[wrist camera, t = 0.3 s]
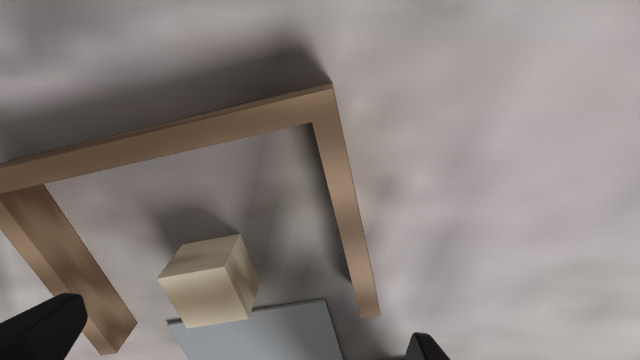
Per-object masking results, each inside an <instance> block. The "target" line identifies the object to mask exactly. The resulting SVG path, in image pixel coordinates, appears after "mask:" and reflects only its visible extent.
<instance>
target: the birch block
mask: <svg viewBox="0 0 640 360" xmlns="http://www.w3.org/2000/svg"><path fill="white" fill-rule="evenodd" d="M157 279H158V281H159V283H160V284H161V286H162V288H163V289H164V291H165V293H166V294H167V296H168V298H169V299H170V301H171V303H172V304H173V306H174V308H175V309H176V311H177V313H178V314H179V316H180V318H181V320H182V321H183V323H184V325H185V326H186V328H193V327H200V326H206V325H213V324H219V323H226V322H233V321H239V320H246V319H249V317H250V314H251V310H252V307H253V304H254V300H255V297H256V293H257V290H258V287H259V283H260V280H259V277H258V275H257V272H256V270H255V268H254V265H253V263H252V260H251V258H250V256H249V253H248V251H247V248H246V246H245V244H244V241H243V239H242V236H241V234H234V235H229V236H224V237H218V238H213V239H208V240H203V241H197V242H192V243H187V244H182V246H181V247H180V248H179V250H178V251H177V252H176V254H175V255H174V256H173V258H172V259H171V260H170V262H169V263H168V264H167V266H166V267H165V269H164V270H163V271H162V273H161V274H160V275H159V277H158V278H157Z"/></svg>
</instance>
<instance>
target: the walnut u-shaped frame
mask: <svg viewBox="0 0 640 360" xmlns="http://www.w3.org/2000/svg"><path fill="white" fill-rule="evenodd" d="M310 122H312V125H313V129H314V133H315V137H316V141H317V145H318V149H319V153H320V156H321V160H322V164H323V168H324V172H325V176H326V180H327V184H328V188H329V192H330V196H331V200H332V204H333V208H334V212H335V216H336V220H337V224H338V228H339V232H340V236H341V240H342V244H343V248H344V252H345V256H346V260H347V264H348V268H349V272H350V276H351V280H352V284H353V288H354V292H355V296H356V300H357V304H358V308H359V312H360V316H361V318H368V317H376V316H381V315H380V309H379V304H378V298H377V293H376V288H375V283H374V278H373V273H372V269H371V264H370V259H369V254H368V250H367V245H366V240H365V235H364V231H363V226H362V221H361V216H360V212H359V207H358V202H357V197H356V193H355V188H354V183H353V178H352V174H351V169H350V164H349V159H348V155H347V150H346V145H345V140H344V136H343V131H342V126H341V122H340V117H339V112H338V107H337V103H336V98H335V93H334V88H333V84H332V82H330V83H326V84H322V85H318V86H314V87H310V88H306V89H302V90H298V91H294V92H289V93H285V94H281V95H277V96H273V97H269V98H265V99H261V100H257V101H253V102H249V103H244V104H240V105H236V106H232V107H228V108H224V109H220V110H216V111H212V112H208V113H203V114H199V115H195V116H191V117H187V118H183V119H179V120H175V121H171V122H167V123H163V124H158V125H154V126H150V127H146V128H142V129H138V130H134V131H130V132H126V133H122V134H117V135H113V136H109V137H105V138H101V139H97V140H93V141H89V142H85V143H81V144H76V145H72V146H68V147H64V148H60V149H56V150H52V151H48V152H44V153H40V154H36V155H31V156H27V157H23V158H19V159H15V160H11V161H7V162H4V163H1V164H0V230H1V231H2V232H3V233H4V235H5V236H6V237H7V238H8V240H9V241H10V242H11V243H12V245H13V246H14V247H15V248H16V250H17V251H18V252H19V253H20V255H21V256H22V257H23V258H24V260H25V261H26V262H27V263H28V265H29V266H30V267H31V268H32V270H33V271H34V272H35V273H36V275H37V276H38V277H39V278H40V280H41V281H42V282H43V283H44V285H45V286H46V287H47V288H48V290H49V291H50V292H51V293H52V295H53V296H54V297H55V296H57V295H59V294H62V293H66V292H67V293H77V294H81V295H82V296H83V299H84V302H85V306H86V310H87V313H88V320H87V323H86V325H85V327H84V328H83V330H82V332H83V333H84V335H85V336H86V337H87V338H88V340H89V341H90V342H91V343H92V345H93V346H94V347H95V348H96V350H97V351H98V352H99V353H100V355H107V354H114V353H117V352H118V350H119V349H120V348H121V346H122V345H123V343H124V342H125V340H126V339H127V337H128V336H129V335H130V333H131V332H132V330H133V329H134V327H135V326H136V324H137V322H136V320H135V319H134V317H133V316H132V314H131V313H130V311H129V310H128V308H127V307H126V305H125V304H124V302H123V301H122V300H121V298H120V297H119V295H118V294H117V292H116V291H115V289H114V288H113V286H112V285H111V283H110V282H109V280H108V279H107V278H106V276H105V275H104V273H103V272H102V270H101V269H100V267H99V266H98V264H97V263H96V261H95V260H94V258H93V257H92V255H91V254H90V253H89V251H88V250H87V248H86V247H85V245H84V244H83V242H82V241H81V239H80V238H79V236H78V235H77V233H76V232H75V230H74V229H73V228H72V226H71V225H70V223H69V222H68V220H67V219H66V217H65V216H64V214H63V213H62V211H61V210H60V208H59V207H58V206H57V204H56V203H55V201H54V200H53V198H52V197H51V195H50V194H49V192H48V191H47V189H46V188H45V186H44V185H43V184H44V183H48V182H53V181H57V180H62V179H66V178H70V177H75V176H79V175H83V174H88V173H92V172H96V171H101V170H105V169H110V168H114V167H118V166H123V165H127V164H131V163H136V162H140V161H145V160H149V159H153V158H158V157H162V156H166V155H171V154H175V153H179V152H184V151H188V150H193V149H197V148H201V147H206V146H210V145H214V144H219V143H223V142H227V141H232V140H236V139H241V138H245V137H249V136H254V135H258V134H262V133H267V132H271V131H275V130H280V129H284V128H289V127H293V126H297V125H302V124H306V123H310Z"/></svg>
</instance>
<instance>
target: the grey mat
mask: <svg viewBox="0 0 640 360" xmlns="http://www.w3.org/2000/svg"><path fill="white" fill-rule="evenodd" d="M167 326H168V327H169V329H170V330H171V332H172V334H173V335H174V337H175V338H176V340H177V342H178V343H179V345H180V346H181V348H182V350H183V351H184V353H185V354H186V356H187V358H188V359H189V360H344V359H343V356H342V353H341V349H340V346H339V343H338V340H337V336H336V333H335V330H334V327H333V323H332V320H331V317H330V314H329V310H328V307H327V304H326V301H325V299H319V300H312V301H306V302H299V303H293V304H286V305H279V306H273V307H266V308H260V309H253V310H251V314H250V317H249V319H246V320H239V321H233V322H226V323H219V324H213V325H206V326H200V327H193V328H186V326H185V325H184V323H183V321H182V320H181V321H174V322H169V323H168V324H167Z"/></svg>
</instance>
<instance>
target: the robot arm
mask: <svg viewBox="0 0 640 360" xmlns="http://www.w3.org/2000/svg"><path fill="white" fill-rule="evenodd" d="M87 320H88V313H87V310H86V306H85V302H84V299H83V296H82V295H81V294H77V293H67V292H66V293H62V294H59V295H57V296H55V297H53V298H51V299H49V300H47V301H45V302H43V303H41V304H39V305H37V306H35V307H33V308H31V309H29V310H26V311H24V312H22V313H20V314H18V315H16V316H14V317H12V318H10V319H8V320H6V321H4V322H2V323H0V360H64V359H65V357H66V356H67V354H68V353H69V351H70V349H71V348H72V346H73V345H74V343H75V341H76V340H77V338H78V336H79V335H80V333H81V332H82V330H83V328H84V327H85V325H86V323H87ZM406 360H450V359H449V357H448V356H447V355H446V354H445V352H444V351H443V350H442V349H441V348H440V346H439V345H438V344H437V343H436V342H435V340H434V339H433V338H432V337H431V336H430V335H429V334H426V333H418V332H415V333H413V334H412V337H411V340H410V343H409V346H408V349H407V352H406Z"/></svg>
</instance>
